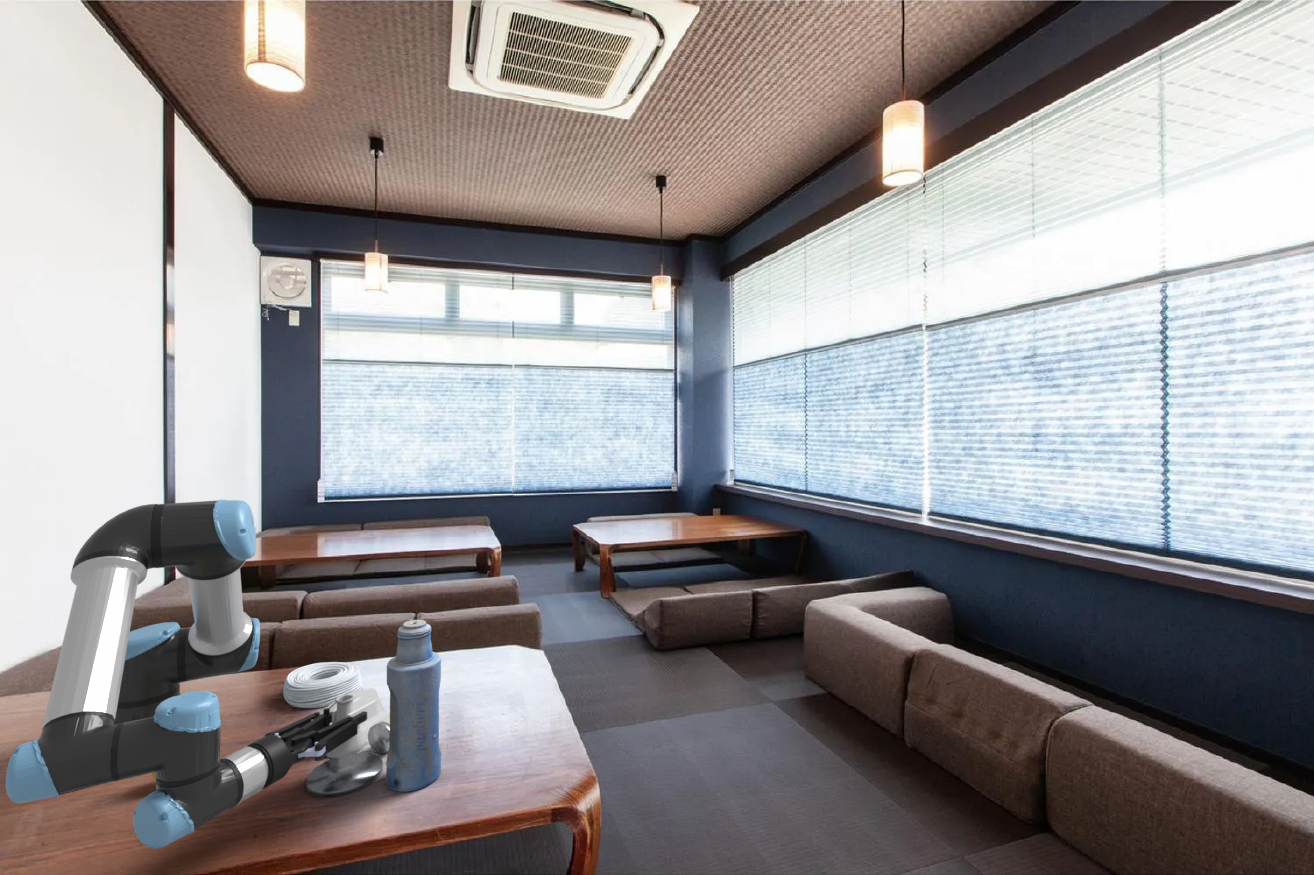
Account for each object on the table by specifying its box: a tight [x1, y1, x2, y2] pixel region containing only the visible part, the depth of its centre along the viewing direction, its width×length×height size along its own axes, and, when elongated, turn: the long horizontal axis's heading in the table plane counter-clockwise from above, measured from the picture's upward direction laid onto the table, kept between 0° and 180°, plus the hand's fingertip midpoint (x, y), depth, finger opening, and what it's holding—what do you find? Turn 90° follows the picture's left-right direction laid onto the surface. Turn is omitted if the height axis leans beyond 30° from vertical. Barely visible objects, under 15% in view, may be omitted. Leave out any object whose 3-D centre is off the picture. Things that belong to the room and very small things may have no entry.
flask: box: [325, 694, 368, 759], centre depth 114 cm, size 7×7×10 cm
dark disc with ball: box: [306, 721, 390, 798], centre depth 120 cm, size 13×26×6 cm, turn 160°
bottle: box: [385, 619, 442, 792], centre depth 113 cm, size 10×10×30 cm
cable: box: [282, 661, 364, 709], centre depth 150 cm, size 18×18×6 cm
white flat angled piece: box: [320, 688, 390, 740], centre depth 129 cm, size 17×5×10 cm, turn 167°
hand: (367, 705), depth 119 cm, fingers closed on flask, 3 cm apart
